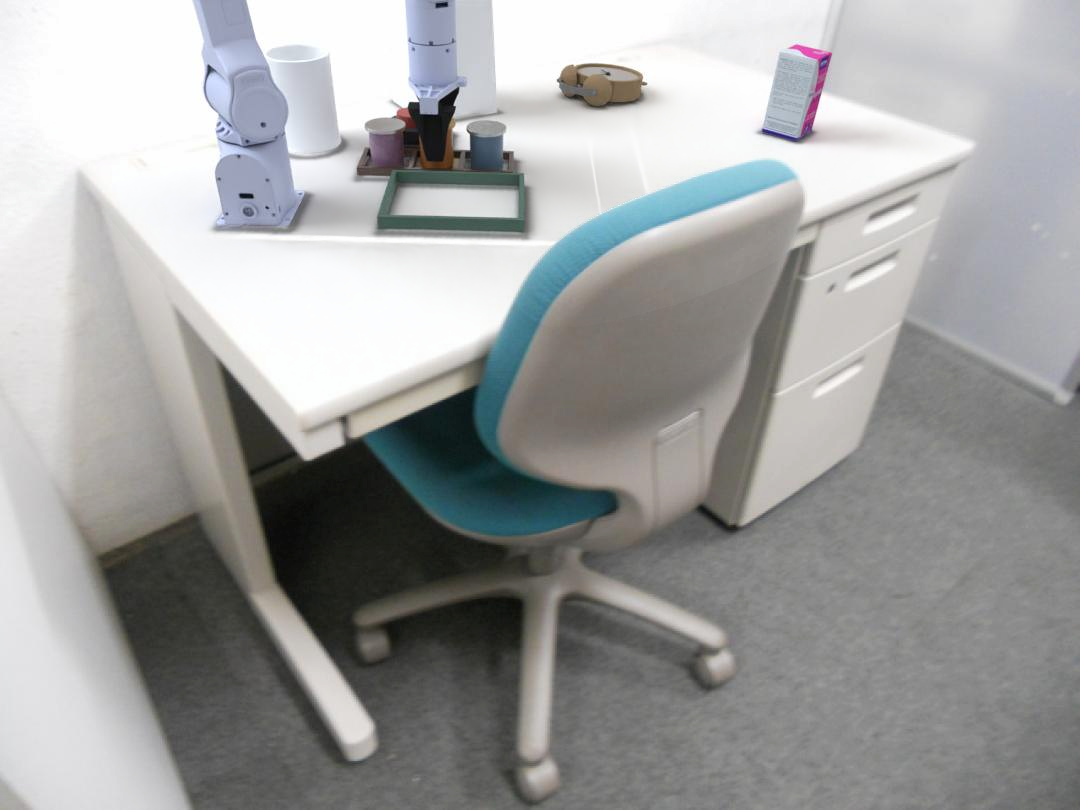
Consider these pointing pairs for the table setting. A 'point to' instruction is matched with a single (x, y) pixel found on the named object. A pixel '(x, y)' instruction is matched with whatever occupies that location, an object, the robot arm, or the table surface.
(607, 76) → the alarm clock
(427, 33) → the robot arm
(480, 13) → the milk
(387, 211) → the tray
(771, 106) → the supplement box
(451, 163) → the coffee pod
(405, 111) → the button
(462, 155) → the pod stand
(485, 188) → the table surface
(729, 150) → the table surface
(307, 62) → the mug
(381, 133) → the mauve pod
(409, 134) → the button block
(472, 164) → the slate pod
